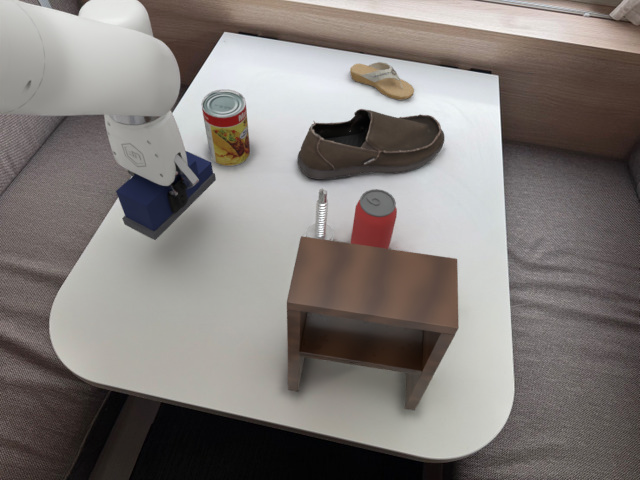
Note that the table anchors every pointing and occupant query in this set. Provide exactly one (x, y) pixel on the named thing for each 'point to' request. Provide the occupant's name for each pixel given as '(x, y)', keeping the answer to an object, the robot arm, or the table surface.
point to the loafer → (369, 145)
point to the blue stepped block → (159, 199)
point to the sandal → (382, 79)
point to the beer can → (374, 219)
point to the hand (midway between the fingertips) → (163, 198)
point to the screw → (321, 220)
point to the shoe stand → (371, 310)
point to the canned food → (226, 127)
